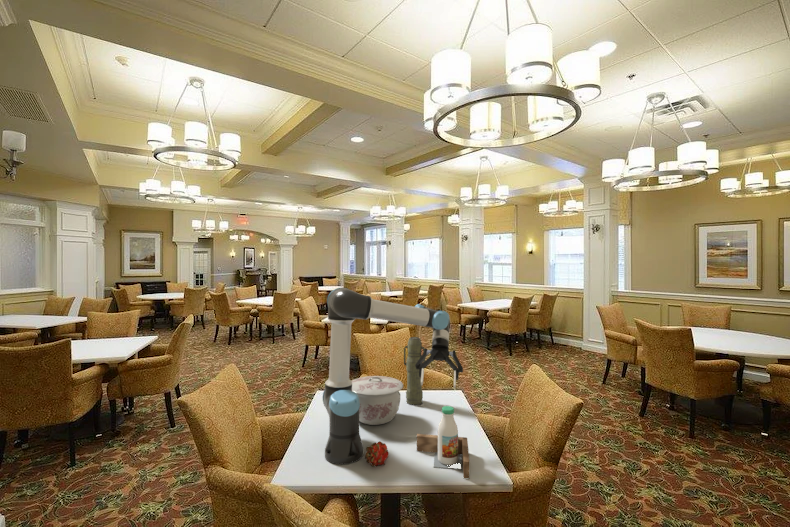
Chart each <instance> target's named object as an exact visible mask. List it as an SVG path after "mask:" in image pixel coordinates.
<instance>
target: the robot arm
mask: <svg viewBox="0 0 790 527" xmlns="http://www.w3.org/2000/svg"><path fill="white" fill-rule="evenodd" d="M326 303H327V304H326V305H327V308H328V311H327V312H328V313H327V314H328V315H327V316H328V317H327V319H328V320H329V322H330V323H331V327H330V345H329V346H330V348H329V367H328V369H329V370H328V379H327V380H326V381H325V382H324V391H323V392H322V402H323V406H324V407H325V410H326V412H327V414H328V417H329V436H328V439H327V441H326V444H325V448H324V458H325V460H327V461H328V462H330V463H332V464H334V465H335V464H337V465H349V464H352V463H356V462H357V461H359V460H360V459H361V458H362V457H363V456H364V454H365V453H364V450H365V449H364V445H363V441H362V438H361V434H360V421H359V407H360V402H359V397H358V395H357V394H356V393H355V392H353V391H352V380H351V379H350V365H351V364H350V362H351V360H350V359H351V344H352V343H351V342H352V323H353V322H354V321H355V320H357V319H358V320H368V319H375V320H376V319H377V320H382V321H389V322H395V323H401V324H408V325H414V326H421V327H426V328H431V329H432V341H431V349H428V348H426V347H424V348H425V349H424V353H423V352H422V353H421V355H422V356H421V357H420V359H419V360H418V362H417V363H416V365H415V366H416V369H419V377H421V385H422V386H424V385H423V384H424V377H425V376H424V375H425V370H424V369H426V367H428V366H429V365H430V364H431V363H432V362H434V361H437V362H438V361H439V362H440V361H441V362H445V363H447V364H448V366H449V367H450V368H451V369H452V370H453V388H454V389H456V386H457V385H456V383H457V382H456V381H458V380H459V376H460V375H459V374H460V373H463V372H464V368H463V366H462V363H461V362H460V359H459V358H458V356H457V355H456V350H455V349H454V350H452V351H450V350H449V347H450V345H449V344H450V343H449V342H450V341H449V340H450V325H451V319H450V314H449V313H448V312H447V311H445V310H435V309H432V308H429V307H426V306H425V305H423V304H420V303H417V304H416V305H414V306H412V305H406V304H400V303H395V302H390V301H385V300H379V299H373V298H372V296H370V295H366V294H361V293H359V292H357V291H355V290H352V289H349V288H347V287H337V288H334V289H333V290H331V291H330V292H329V294H328V295H327V300H326ZM428 355H430V356H429V357H428V358H427V356H428ZM449 356H451V357H452V359H453V361H452V359H451V358H450V357H449ZM424 359H425V362H424V363H422V362H423V361H424ZM454 362H455V363H454Z"/></svg>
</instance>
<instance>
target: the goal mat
mask: <svg viewBox="0 0 790 527" xmlns="http://www.w3.org/2000/svg"><path fill="white" fill-rule="evenodd" d="M433 459H434V460H433V468H435V467H439V468H438V469H446V468H448V467H450V466H451V465H450V466H449V465H448V466H447V465H445V464H442V463H440V462H439V460H438V452H435V453H434V458H433ZM458 463H460V464H462V465H463V460H462V455H461V454H458V461H457V464H458Z"/></svg>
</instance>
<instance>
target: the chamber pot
mask: <svg viewBox="0 0 790 527" xmlns="http://www.w3.org/2000/svg"><path fill="white" fill-rule="evenodd" d="M351 381H352V391H353V392H355V393H356V394H357V395H358V397H359V402H360V407H359V423H363V425H364V424H365V425H369V426H370V425H371V426H376V425H377V426H378V425H385V424H387V423H389V422H391V421H392V420H393V419H394V418H395V416H396V415H397V413H398V412H399V408H400V403H401V393H400V391H401V390H402V389H403V388H404V384H403V382H402V381H401V380H400V379H397V378H394V377H391V376H384V375H367V376H362V377H358V378H354V379H352V380H351Z"/></svg>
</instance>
